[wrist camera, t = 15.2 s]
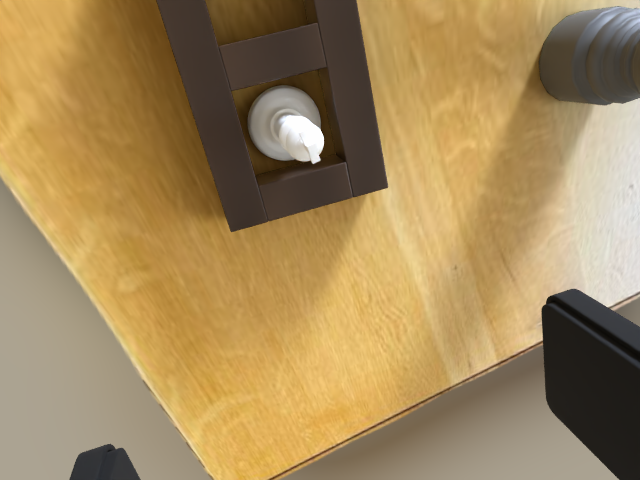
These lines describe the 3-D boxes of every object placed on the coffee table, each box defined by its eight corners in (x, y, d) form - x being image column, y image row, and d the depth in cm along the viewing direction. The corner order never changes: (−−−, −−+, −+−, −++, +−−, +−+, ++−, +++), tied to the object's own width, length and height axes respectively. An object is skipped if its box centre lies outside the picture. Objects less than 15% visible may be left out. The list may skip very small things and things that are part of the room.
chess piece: (266, 171, 33) (287, 214, 24) (234, 104, 31) (243, 122, 22) (330, 141, 33) (376, 172, 24) (303, 72, 31) (340, 77, 22)
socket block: (229, 218, 33) (231, 232, 31) (126, -104, 26) (116, -124, 23) (374, 177, 34) (388, 188, 32) (317, -142, 27) (328, -164, 24)
